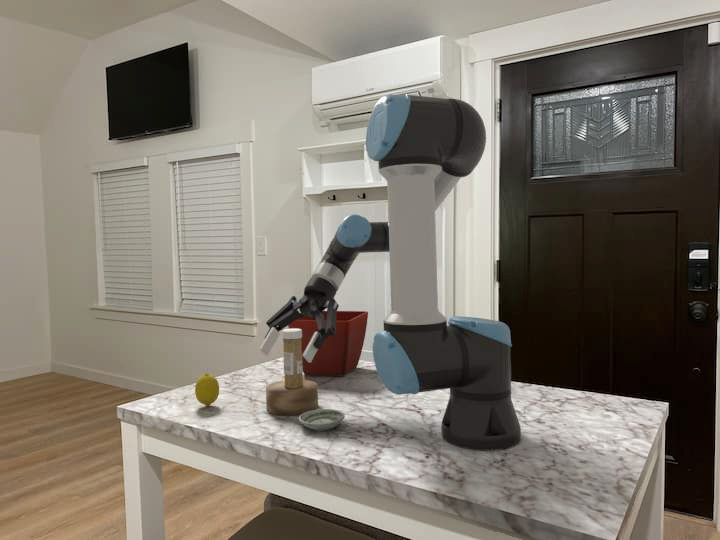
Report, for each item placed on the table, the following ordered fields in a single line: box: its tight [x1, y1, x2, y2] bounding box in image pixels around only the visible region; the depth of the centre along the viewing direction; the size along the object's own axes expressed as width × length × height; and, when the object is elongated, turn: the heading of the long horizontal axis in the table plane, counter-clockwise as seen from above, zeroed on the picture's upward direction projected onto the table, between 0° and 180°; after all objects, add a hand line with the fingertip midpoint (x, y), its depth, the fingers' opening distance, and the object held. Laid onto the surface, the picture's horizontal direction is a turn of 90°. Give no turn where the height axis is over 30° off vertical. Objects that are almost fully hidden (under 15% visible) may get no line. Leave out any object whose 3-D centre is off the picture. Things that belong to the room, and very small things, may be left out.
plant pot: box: [288, 310, 369, 377], centre depth 158 cm, size 19×19×17 cm
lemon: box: [194, 373, 220, 407], centre depth 126 cm, size 6×6×8 cm
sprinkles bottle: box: [281, 328, 304, 389], centre depth 124 cm, size 5×5×13 cm
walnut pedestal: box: [265, 379, 319, 417], centre depth 124 cm, size 12×12×5 cm
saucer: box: [298, 408, 345, 432], centre depth 111 cm, size 10×10×2 cm
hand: (284, 355), depth 122 cm, fingers open, 13 cm apart
